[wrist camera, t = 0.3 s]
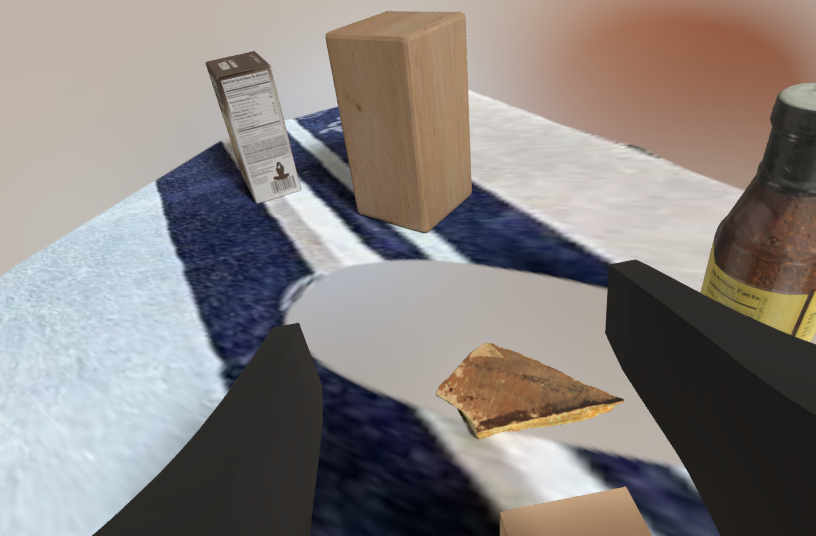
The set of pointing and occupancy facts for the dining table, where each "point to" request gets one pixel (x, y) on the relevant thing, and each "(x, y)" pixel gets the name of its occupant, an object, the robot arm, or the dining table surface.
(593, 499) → the small brown box
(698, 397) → the robot arm
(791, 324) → the sauce bottle
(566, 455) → the dining table surface
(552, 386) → the shard
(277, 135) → the coffee box
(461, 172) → the wooden block
